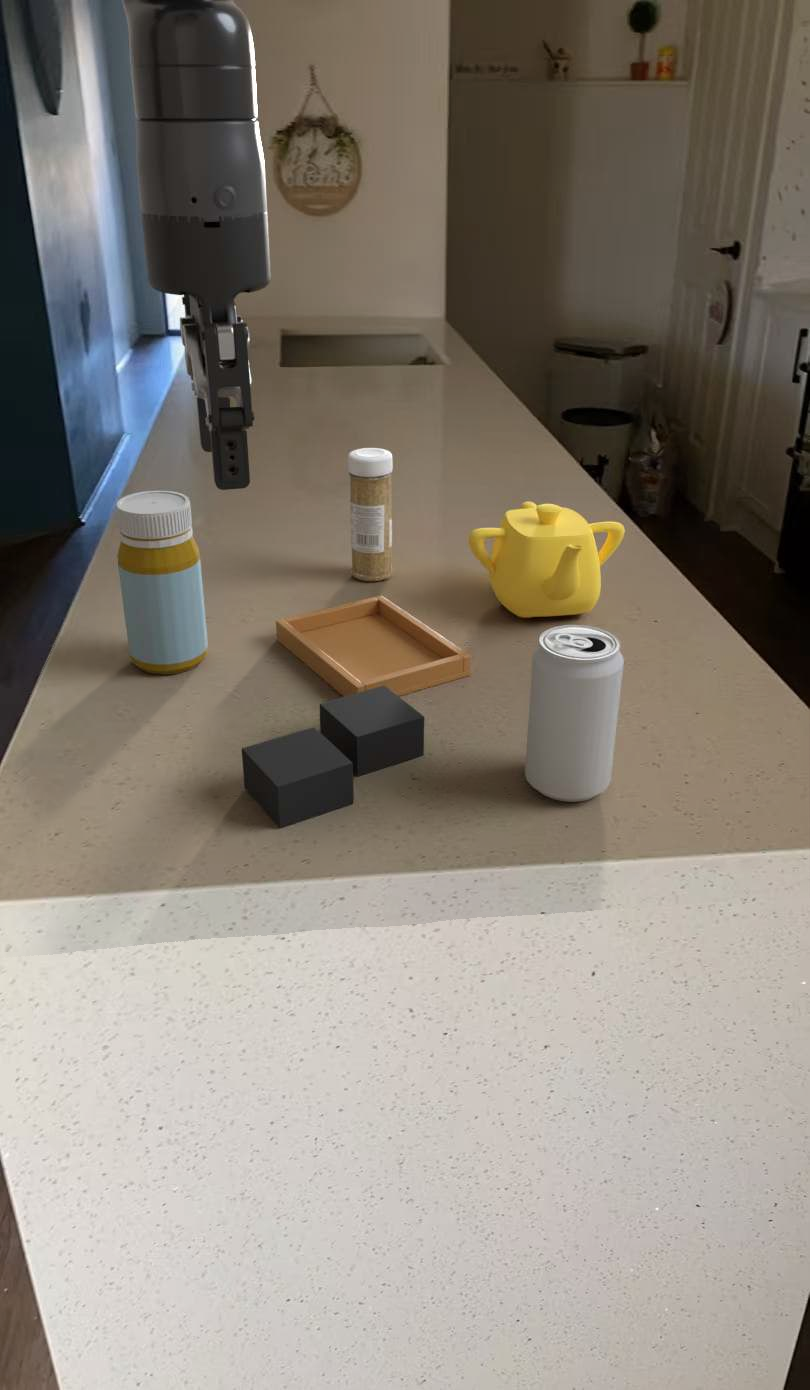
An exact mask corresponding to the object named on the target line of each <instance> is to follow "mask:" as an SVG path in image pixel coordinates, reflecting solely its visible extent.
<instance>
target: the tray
mask: <svg viewBox="0 0 810 1390" xmlns="http://www.w3.org/2000/svg"><path fill="white" fill-rule="evenodd" d="M275 630H276V631H275V632H276V635H275V636H276V640H277V641H278V642H279V643H280V644H281V645H282V646H284V647H285V648H286V649H287V650H288V651H290V653H292V654H293V655H294V656H296V657H297V658H298V659H299V660H300V661H301V662H302V663H304V664H305V665H306V666H307V667H308V668H310V669H311V670H312V671H313V672H314V673H315V674H316V675H318V676H319V677H320V678H321V679H322V680H323V681H325V682H326V683H327V684H328V685H329V686H331V687H332V688H333V689H334V690H335V691H336V692H338V693H339V694H340V695H341V696H342V697H345V696H349V695H352V694H356V693H359V692H363V691H366V690H370V689H373V688H377V687H380V686H384V685H385V686H386V687H387V688H389V689H390V690H391V691H393V692H394V693H395V694H396V695H398V696H399V697H400V696H405V695H408V694H411V693H415V692H419V691H421V690H425V689H428V688H432V687H435V686H438V685H442V684H445V683H449V682H452V681H456V680H459V679H462V678H466V677H470V676H471V660H472V659H471V655H470V654H469V653H467V652H466V651H464V650H463V649H462V648H460V647H459V646H457V645H455V644H454V643H452V641H450V640H448V639H447V638H445V637H444V636H442V635H441V634H439V633H438V632H436V631H434V630H433V629H431V628H430V627H429V626H427V625H426V624H424V623H423V622H422V621H420V620H418V619H417V618H415V617H414V616H412V615H411V614H409V613H408V612H407V611H405V610H404V609H402V608H400V607H399V606H398V605H396V604H394V603H393V602H392V601H390V600H389V599H387V598H386V597H384V596H383V595H377V596H373V597H369V598H364V599H360V600H356V601H352V602H348V603H343V604H340V605H336V606H331V607H327V608H323V609H318V610H315V611H309V612H306V613H302V614H298V615H293V616H289V617H286V618H280V619H277V620H275Z"/></svg>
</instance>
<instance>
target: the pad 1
mask: <svg viewBox="0 0 810 1390" xmlns="http://www.w3.org/2000/svg"><path fill="white" fill-rule="evenodd" d="M241 760H242V772H243V785H244V786H243V787H244V789H245V790H246V792H247V793H248V794H249V795H250V796H251V797H252V798H253V800H254V801H255V802H256V803H257V804H258V805H259V807H260V808H261V809H262V810H263V811H264V813H266V815H267V816H268V817H269V818H270V819H271V820H272V821H273V822H274V824H275V825H276V826H277V827H278V828H279V829H282V828H284V827H288V826H292V825H294V824H297V823H299V822H303V821H305V820H309V819H312V818H315V817H317V816H321V815H323V814H326V813H330V812H333V811H335V810H339V809H341V808H343V807H347V806H350V805H353V804H354V773H353V763H352V762H351V761H350V760H349V759H348V758H347V757H346V756H344V755H343V754H342V753H341V752H340V751H339V750H338V749H337V748H336V747H335V746H334V745H333V744H332V743H331V742H330V741H328V740H327V739H326V738H325V737H324V736H323V735H322V734H321V733H320V730H318V729H317V728H316V727H315V726H313V727H310V728H306V729H302V730H300V731H299V730H298V731H296V732H293V733H289V734H286V735H282V736H279V737H276V738H271V739H268V740H265V741H262V742H259V743H256V744H252V745H248V746H245V747H242V748H241Z"/></svg>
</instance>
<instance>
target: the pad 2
mask: <svg viewBox="0 0 810 1390" xmlns="http://www.w3.org/2000/svg"><path fill="white" fill-rule="evenodd" d="M318 706H319V732H320V733H321V734H322V735H323V736H324V737H325V738H326V739H327V740H328V741H330V742H331V743H332V744H333V745H334V746H335V747H336V748H337V749H338V750H339V751H340V752H341V753H342V754H343V755H344V756H346V757H347V758H348V759H349V760H350V761H351V762H352V763H353V775H355V776H356V777H360V776H363V775H366V774H369V773H372V772H376V771H379V770H381V769H385V768H388V767H391V766H394V765H397V764H400V763H403V762H407V761H410V760H412V759H416V758H419V757H422V756H424V754H425V716H424V715H423V714H422V713H420V711H418V710H417V709H415V708H414V707H413V706H412V705H410V704H409V703H408V702H407V701H405V700H404V699H403V698H401V697H400V696H398V695H396V694H395V693H394V692H393V691H391V690H390V689H389V688H387V687H386V686H385V685H384V686H380V687H377V688H373V689H370V690H366V691H363V692H359V693H356V694H352V695H349V696H345V697H344V696H342V697H338V698H335V699H331V700H327V701H324V702H321V703H319V705H318Z"/></svg>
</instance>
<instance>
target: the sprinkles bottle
mask: <svg viewBox="0 0 810 1390" xmlns="http://www.w3.org/2000/svg"><path fill="white" fill-rule="evenodd" d="M393 464H394V462H393V454H392V453H391V451H390V450H387V449H384V448H378V447H363V448H357V449H354V450H352V451H350V452H349V454H348V455H347V470H348V475H349V480H350V481H349V489H350V490H349V491H350V494H349V495H350V498H349V511H350V513H349V516H350V546H351V569H350V573H351V576H352V577H354V578H355V579H357V580H360V581H363V582H381V581H383V580H384V581H385V580H387V579H388V578H390V577H391V576H392V575H393V571H394V570H393V567H392V562H393V561H392V546H393V521H392V481H391V480H392V472H393V471H394V470H393V468H394V467H393Z"/></svg>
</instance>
